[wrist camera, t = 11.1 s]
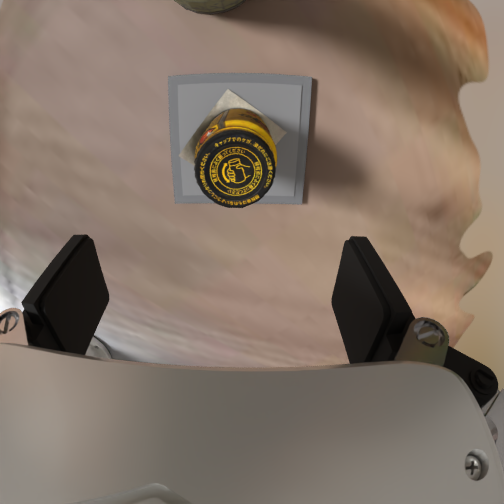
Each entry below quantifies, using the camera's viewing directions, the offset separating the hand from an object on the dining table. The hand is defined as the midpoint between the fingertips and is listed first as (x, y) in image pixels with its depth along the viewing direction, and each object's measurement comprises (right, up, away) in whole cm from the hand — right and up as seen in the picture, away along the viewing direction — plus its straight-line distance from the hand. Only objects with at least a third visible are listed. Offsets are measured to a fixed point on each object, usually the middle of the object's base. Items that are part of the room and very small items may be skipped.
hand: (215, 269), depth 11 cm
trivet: (0, +12, +19) cm, 22 cm away
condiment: (-1, +12, +18) cm, 22 cm away
